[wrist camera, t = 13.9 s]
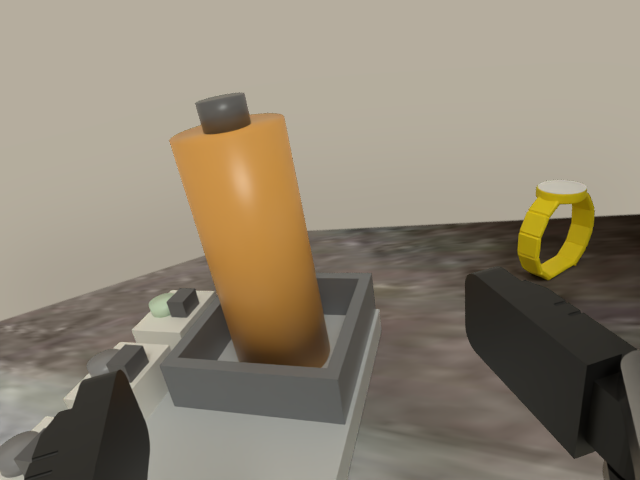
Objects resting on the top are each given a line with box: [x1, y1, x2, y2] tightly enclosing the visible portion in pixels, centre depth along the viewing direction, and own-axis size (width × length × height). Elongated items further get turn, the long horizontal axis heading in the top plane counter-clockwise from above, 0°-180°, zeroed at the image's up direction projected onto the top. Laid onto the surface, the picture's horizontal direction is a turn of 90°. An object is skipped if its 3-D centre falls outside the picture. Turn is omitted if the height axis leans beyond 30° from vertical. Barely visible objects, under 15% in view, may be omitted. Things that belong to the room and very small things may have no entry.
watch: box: [517, 180, 595, 280], centre depth 29 cm, size 6×3×6 cm, turn 122°
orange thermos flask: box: [170, 93, 330, 368], centre depth 21 cm, size 5×5×13 cm
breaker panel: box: [0, 273, 382, 480], centre depth 21 cm, size 13×17×4 cm
